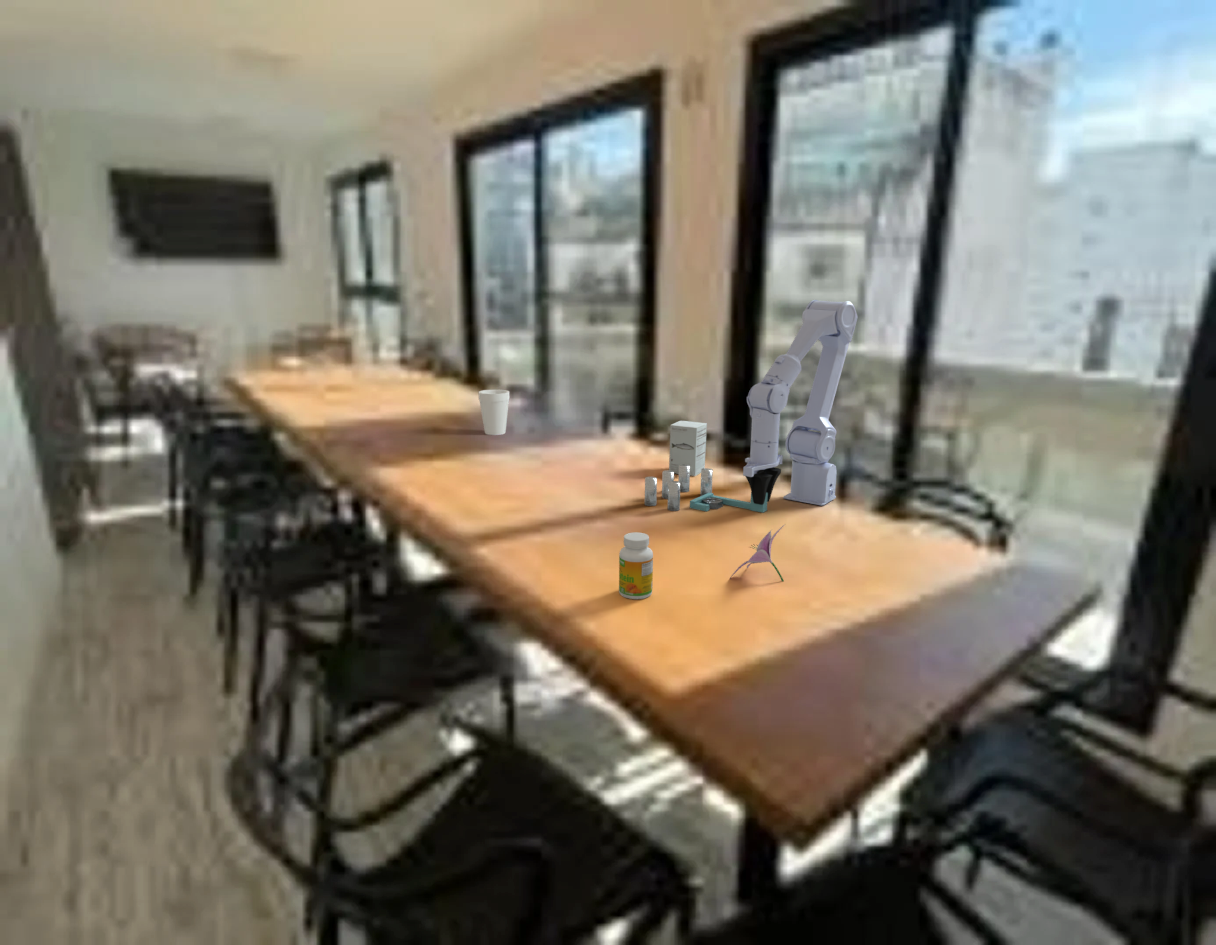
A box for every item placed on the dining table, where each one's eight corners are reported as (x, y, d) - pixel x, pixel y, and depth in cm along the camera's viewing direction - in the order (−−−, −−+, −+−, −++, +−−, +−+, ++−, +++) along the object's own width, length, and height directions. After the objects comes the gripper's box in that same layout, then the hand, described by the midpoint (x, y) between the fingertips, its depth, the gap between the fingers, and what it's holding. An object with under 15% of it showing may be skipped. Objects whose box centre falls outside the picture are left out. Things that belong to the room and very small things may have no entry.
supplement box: (667, 473, 203) (669, 424, 200) (679, 467, 209) (680, 419, 206) (695, 477, 200) (696, 427, 197) (705, 470, 206) (707, 422, 203)
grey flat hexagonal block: (725, 505, 176) (725, 499, 176) (714, 510, 173) (715, 504, 172) (709, 502, 179) (709, 496, 178) (698, 507, 175) (699, 501, 175)
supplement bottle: (611, 593, 129) (612, 536, 127) (634, 584, 133) (635, 528, 130) (636, 603, 125) (636, 544, 123) (659, 593, 129) (660, 536, 127)
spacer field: (713, 494, 184) (714, 469, 183) (675, 511, 172) (676, 484, 170) (681, 488, 189) (682, 463, 188) (642, 504, 176) (642, 478, 175)
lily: (778, 567, 143) (754, 520, 143) (822, 563, 133) (796, 512, 132) (731, 601, 138) (706, 552, 137) (773, 600, 127) (746, 546, 127)
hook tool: (766, 510, 173) (767, 492, 172) (748, 520, 166) (749, 501, 165) (709, 499, 181) (710, 481, 180) (689, 507, 174) (690, 490, 173)
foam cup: (474, 434, 248) (473, 393, 244) (487, 429, 256) (486, 388, 253) (503, 436, 245) (501, 394, 242) (515, 431, 254) (514, 390, 250)
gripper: (763, 432, 176) (759, 491, 180) (731, 443, 165) (728, 506, 169) (792, 436, 172) (789, 497, 176) (762, 448, 161) (758, 512, 165)
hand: (761, 502), depth 172 cm, fingers closed on hook tool, 2 cm apart
